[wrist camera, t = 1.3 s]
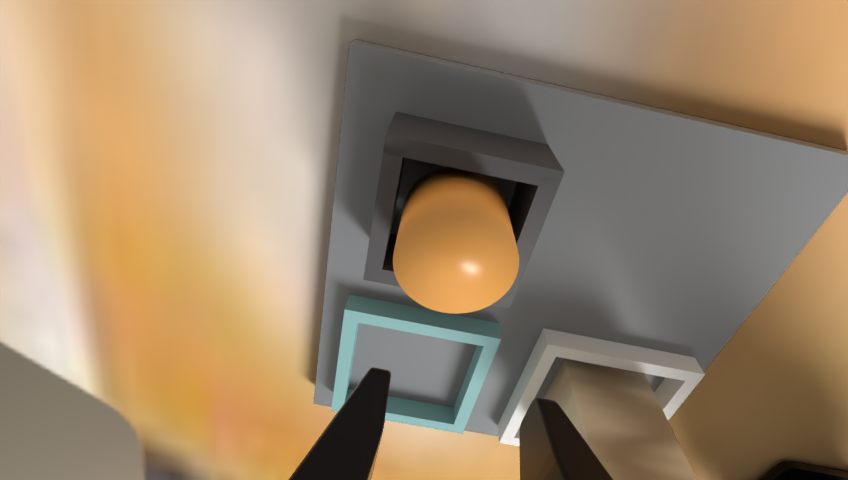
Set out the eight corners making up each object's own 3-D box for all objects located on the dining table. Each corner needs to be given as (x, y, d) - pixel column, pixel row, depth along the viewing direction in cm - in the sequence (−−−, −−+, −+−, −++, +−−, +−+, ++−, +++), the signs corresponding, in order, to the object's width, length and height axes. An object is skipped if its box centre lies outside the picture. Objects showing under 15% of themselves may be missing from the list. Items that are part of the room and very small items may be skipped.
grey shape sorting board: (848, 151, 15) (945, 191, 12) (626, 443, 25) (651, 507, 22) (355, 39, 14) (329, 54, 11) (318, 388, 24) (299, 447, 21)
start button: (521, 179, 14) (536, 224, 11) (490, 267, 16) (498, 323, 13) (413, 156, 14) (404, 196, 11) (395, 248, 16) (384, 301, 13)
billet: (644, 374, 20) (726, 538, 14) (609, 425, 22) (667, 587, 16) (564, 359, 20) (612, 519, 14) (536, 412, 22) (567, 571, 16)
